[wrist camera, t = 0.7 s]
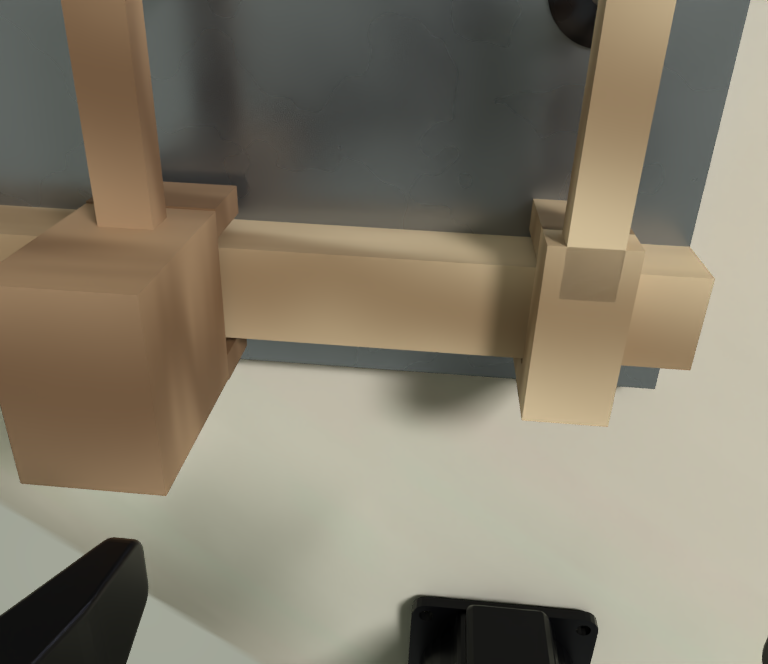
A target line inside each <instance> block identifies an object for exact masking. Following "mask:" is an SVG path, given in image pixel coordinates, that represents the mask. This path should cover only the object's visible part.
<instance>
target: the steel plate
mask: <svg viewBox="0 0 768 664" xmlns="http://www.w3.org/2000/svg"><path fill="white" fill-rule="evenodd" d="M142 4H143V13H144V22H145V30H146V39H147V48H148V57H149V65H150V74H151V83H152V92H153V100H154V109H155V118H156V126H157V135H158V144H159V153H160V161H161V170H162V179H163V182H179V183H197V184H214V185H232V186H237V198H238V214H237V215H236V217H235V218H234V219H240V220H256V221H273V222H289V223H306V224H322V225H339V226H355V227H372V228H388V229H405V230H421V231H438V232H454V233H471V234H487V235H504V236H520V237H531V235H530V231H529V226H530V219H531V211H532V204H533V199H547V200H565V201H567V199H568V192H569V186H570V180H571V173H572V167H573V160H574V154H575V148H576V141H577V135H578V128H579V122H580V115H581V109H582V103H583V96H584V90H585V83H586V77H587V71H588V64H589V58H590V51H591V45H592V38H593V32H594V26H595V19H596V13H597V6H598V5H596V4H595V3H594V2H593V1H592V0H142ZM749 4H750V0H676V5H675V10H674V15H673V20H672V25H671V30H670V35H669V40H668V45H667V50H666V55H665V60H664V65H663V70H662V74H661V79H660V84H659V89H658V94H657V99H656V104H655V109H654V114H653V119H652V124H651V129H650V134H649V139H648V144H647V149H646V154H645V159H644V163H643V168H642V173H641V178H640V183H639V188H638V193H637V198H636V203H635V208H634V213H633V218H632V223H631V229H632V230H633V232H634V234H635V235H636V237H637V238H638V240H639V242H640V243H641V244H652V245H669V246H685V247H690V243H691V239H692V235H693V231H694V227H695V223H696V219H697V215H698V211H699V207H700V203H701V199H702V195H703V191H704V186H705V182H706V178H707V174H708V170H709V166H710V162H711V158H712V154H713V150H714V146H715V142H716V138H717V134H718V130H719V125H720V121H721V117H722V113H723V109H724V105H725V101H726V97H727V93H728V89H729V85H730V81H731V77H732V73H733V69H734V64H735V60H736V56H737V52H738V48H739V44H740V40H741V36H742V32H743V28H744V24H745V20H746V16H747V12H748V8H749ZM91 197H93V195H92V189H91V183H90V177H89V171H88V164H87V158H86V152H85V146H84V140H83V134H82V128H81V121H80V115H79V109H78V103H77V97H76V91H75V85H74V78H73V72H72V66H71V60H70V54H69V48H68V42H67V35H66V29H65V23H64V17H63V11H62V5H61V0H0V205H9V206H25V207H42V208H58V209H75V210H77V209H78V208H80V207H81V206H83V205H84V204H86V201H87V200H88V199H90V198H91ZM240 359H251V360H265V361H279V362H292V363H306V364H320V365H334V366H347V367H361V368H375V369H388V370H402V371H416V372H429V373H443V374H457V375H471V376H484V377H498V378H512V379H516V374H515V367H514V360H513V358H511V357H497V356H483V355H469V354H455V353H440V352H426V351H412V350H398V349H384V348H370V347H356V346H342V345H328V344H314V343H300V342H286V341H272V340H258V339H247V346H246V348H245V350H244V352H243V354H242V356H241V358H240ZM659 369H660V368H651V367H637V366H623V365H621V368H620V373H619V377H618V382H617V386H621V387H635V388H649V389H655V386H656V382H657V378H658V373H659Z"/></svg>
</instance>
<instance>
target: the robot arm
mask: <svg viewBox="0 0 768 664" xmlns="http://www.w3.org/2000/svg"><path fill="white" fill-rule="evenodd" d="M147 597H148V578H147V572H146V565H145V558H144V551H143V547H142V544H141V543H140V542H139V541H138V540H135V539H126V538H115V537H113V538H109V539H106V540H105V541H103V542H102V543H100V544H99V545H97V546H96V547H95V548H93V549H92V550H90V551H89V552H88V553H86V554H85V555H84V556H82V557H81V558H79V559H78V560H77V561H75V562H74V563H72V564H71V565H70V566H68V567H67V568H66V569H64V570H63V571H61V572H60V573H59V574H57V575H56V576H54V577H53V578H52V579H50V580H49V581H47V582H46V583H45V584H43V585H42V586H41V587H39V588H38V589H36V590H35V591H34V592H32V593H31V594H29V595H28V596H27V597H25V598H24V599H23V600H21V601H20V602H18V603H17V604H16V605H14V606H13V607H12V608H10V609H9V610H7V611H6V612H5V613H3V614H2V615H0V664H126V662H127V659H128V656H129V653H130V650H131V647H132V644H133V641H134V638H135V635H136V632H137V629H138V626H139V623H140V620H141V617H142V614H143V611H144V608H145V605H146V601H147ZM425 611H429V612H425ZM584 625H585V626H584ZM597 634H598V626H597V621H596V618H595V616H594V615H593V614H591V613H589V612H585V611H575V610H565V609H554V608H543V607H532V606H521V605H511V604H500V603H489V602H478V601H467V600H456V599H446V598H435V597H421V598H418V599H416V600H415V601H414V602H413V605H412V618H411V632H410V646H409V660H408V664H590V662H591V658H592V654H593V650H594V646H595V642H596V638H597ZM762 663H763V664H768V637H767V640H766V642H765V645H764V648H763V653H762Z"/></svg>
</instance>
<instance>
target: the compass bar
mask: <svg viewBox="0 0 768 664" xmlns="http://www.w3.org/2000/svg"><path fill="white" fill-rule="evenodd" d="M592 1H593V2H594V3H595V4H596V5H598V6H597V13H596V19H595V26H594V32H593V38H592V45H591V51H590V58H589V64H588V71H587V77H586V83H585V90H584V96H583V103H582V109H581V115H580V122H579V128H578V135H577V141H576V148H575V154H574V160H573V167H572V173H571V180H570V186H569V192H568V199H567V201H565V200H547V199H533V204H532V211H531V219H530V226H529V231H530V235H531V237H520V236H504V235H487V234H471V233H454V232H438V231H421V230H405V229H388V228H372V227H355V226H339V225H322V224H306V223H289V222H273V221H256V220H240V219H233V220H232V221H231V223H230V224H229V225H228V226H227V228H226V229H225V230H224V231H223V232H222V234H221V235H220V236H219V237H218V249H219V261H220V274H221V286H222V298H223V311H224V323H225V335H226V337H230V338H244V339H258V340H272V341H286V342H300V343H314V344H328V345H342V346H356V347H370V348H384V349H398V350H412V351H426V352H440V353H455V354H469V355H483V356H497V357H511V358H513V360H514V367H515V374H516V382H517V389H518V396H519V403H520V410H521V418H522V420H525V421H538V422H551V423H564V424H577V425H590V426H603V427H608V424H609V419H610V414H611V410H612V405H613V400H614V396H615V391H616V387H617V382H618V377H619V373H620V368H621V365H623V366H637V367H651V368H665V369H680V370H690V369H691V366H692V362H693V358H694V355H695V351H696V347H697V343H698V340H699V336H700V332H701V329H702V325H703V321H704V317H705V314H706V310H707V306H708V303H709V299H710V295H711V292H712V288H713V284H714V280H715V278H714V277H713V276H712V275H711V273H710V272H709V271H708V270H707V268H706V267H705V266H704V264H703V263H702V262H701V261H700V259H699V258H698V257H697V255H696V254H695V253H694V252H693V250H692V249H691V248H690V247H685V246H669V245H652V244H641V243H640V242H639V240H638V238H637V237H636V235H635V234H634V232H633V230H632V229H631V223H632V218H633V213H634V208H635V203H636V198H637V193H638V188H639V183H640V178H641V173H642V168H643V163H644V159H645V154H646V149H647V144H648V139H649V134H650V129H651V124H652V119H653V114H654V109H655V104H656V99H657V94H658V89H659V84H660V79H661V74H662V70H663V65H664V60H665V55H666V50H667V45H668V40H669V35H670V30H671V25H672V20H673V15H674V10H675V5H676V0H592ZM74 211H76V210H75V209H58V208H42V207H25V206H9V205H0V262H1V261H3V260H4V259H6V258H7V257H9V256H10V255H11V254H13V253H14V252H16V251H17V250H19V249H20V248H22V247H23V246H25V245H26V244H28V243H29V242H30V241H32V240H33V239H35V238H36V237H38V236H39V235H41V234H42V233H44V232H45V231H46V230H48V229H49V228H51V227H52V226H54V225H55V224H57V223H58V222H60V221H61V220H62V219H64V218H65V217H67V216H68V215H70V214H71V213H73V212H74Z"/></svg>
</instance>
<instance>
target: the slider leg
mask: <svg viewBox="0 0 768 664" xmlns="http://www.w3.org/2000/svg"><path fill="white" fill-rule="evenodd" d="M61 5H62V11H63V17H64V23H65V29H66V35H67V42H68V48H69V54H70V60H71V66H72V72H73V78H74V85H75V91H76V97H77V103H78V109H79V115H80V121H81V128H82V134H83V140H84V146H85V152H86V158H87V164H88V171H89V177H90V183H91V189H92V195H93V197H91V198H90V199H88V200H87V201H86V204H84V205H83V206H81V207H80V208H78V209H77V210H76V211H74V212H73V213H71V214H70V215H68V216H67V217H65V218H64V219H62V220H61V221H60V222H58V223H57V224H55V225H54V226H52V227H51V228H49V229H48V230H46V231H45V232H44V233H42V234H41V235H39V236H38V237H36V238H35V239H33V240H32V241H30V242H29V243H28V244H26V245H25V246H23V247H22V248H20V249H19V250H17V251H16V252H14V253H13V254H11V255H10V256H9V257H7V258H6V259H4V260H3V261H1V262H0V406H1V410H2V414H3V417H4V421H5V425H6V429H7V433H8V437H9V440H10V444H11V448H12V452H13V456H14V460H15V463H16V467H17V471H18V475H19V479H20V482H21V484H33V485H45V486H57V487H68V488H80V489H92V490H103V491H115V492H127V493H138V494H150V495H162V496H166V495H167V494H168V492H169V490H170V488H171V486H172V484H173V482H174V480H175V478H176V477H177V475H178V473H179V471H180V469H181V467H182V465H183V463H184V461H185V460H186V458H187V456H188V454H189V452H190V450H191V448H192V446H193V445H194V443H195V441H196V439H197V437H198V435H199V433H200V431H201V429H202V428H203V426H204V424H205V422H206V420H207V418H208V416H209V414H210V412H211V411H212V409H213V407H214V405H215V403H216V401H217V399H218V397H219V396H220V394H221V392H222V390H223V388H224V386H225V384H226V382H227V380H228V379H230V377H231V375H232V373H233V371H234V369H235V367H236V365H237V363H238V362H239V360H240V358H241V356H242V354H243V352H244V350H245V348H246V346H247V339H244V338H230V337H226V335H225V323H224V311H223V298H222V286H221V274H220V261H219V249H218V237H219V236H220V235H221V234H222V232H223V231H224V230H225V229H226V228H227V226H228V225H229V224H230V223H231V221H232V220H233V219H234V218H235V217H236V215H237V214H238V198H237V186H232V185H214V184H197V183H179V182H163V179H162V170H161V161H160V153H159V144H158V135H157V126H156V118H155V109H154V100H153V92H152V83H151V74H150V65H149V57H148V48H147V39H146V30H145V22H144V13H143V4H142V0H61Z"/></svg>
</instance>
